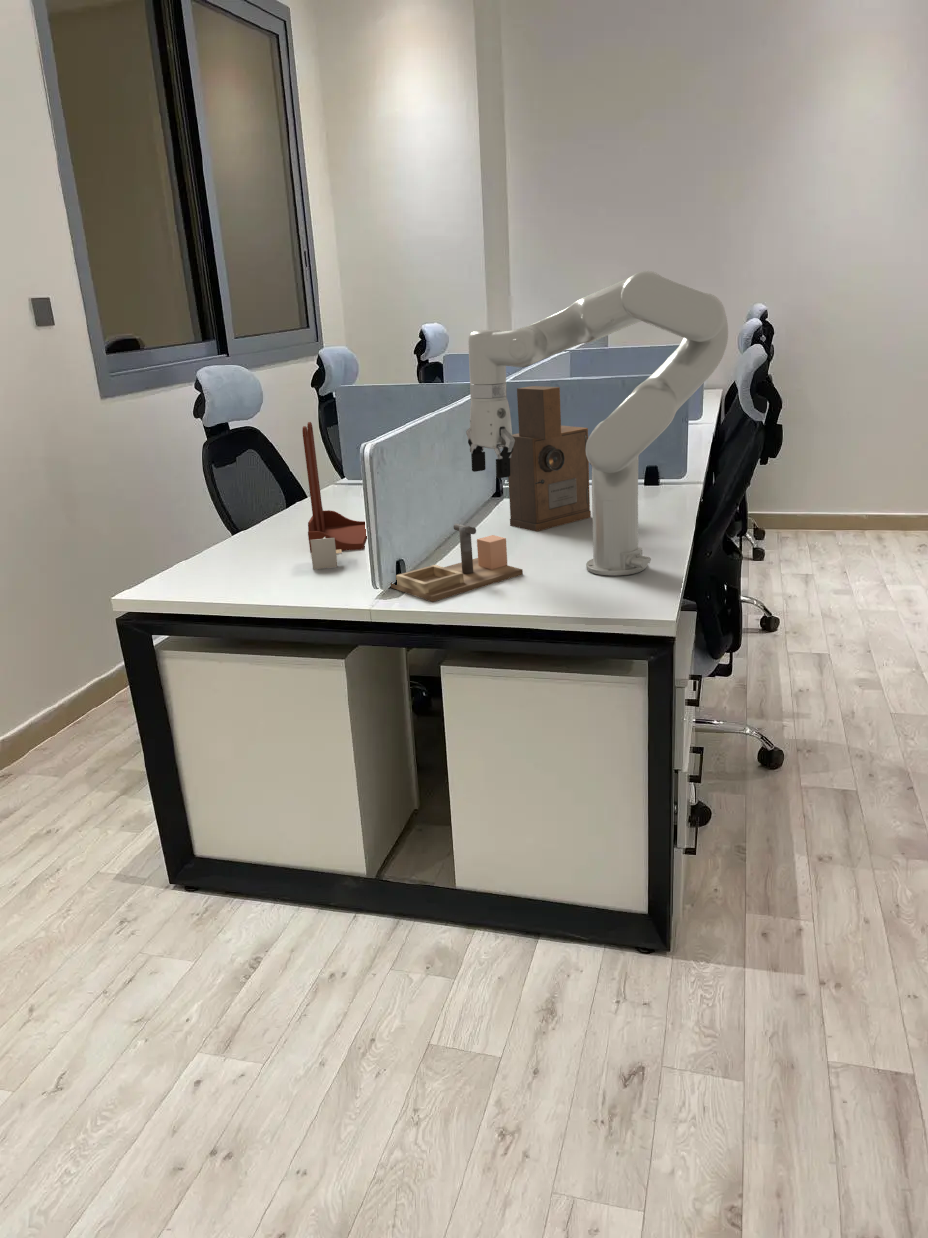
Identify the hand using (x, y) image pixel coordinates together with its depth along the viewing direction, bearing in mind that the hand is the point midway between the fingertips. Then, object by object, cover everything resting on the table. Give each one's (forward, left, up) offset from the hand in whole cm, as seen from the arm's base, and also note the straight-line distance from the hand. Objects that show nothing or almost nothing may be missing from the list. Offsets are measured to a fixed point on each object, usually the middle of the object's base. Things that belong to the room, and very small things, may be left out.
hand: (490, 473), depth 199 cm
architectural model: (+32, +25, -22) cm, 46 cm away
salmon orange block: (-1, +2, -20) cm, 20 cm away
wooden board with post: (-1, +12, -21) cm, 24 cm away
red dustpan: (+53, +8, -21) cm, 57 cm away
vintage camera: (+21, -36, -21) cm, 47 cm away
